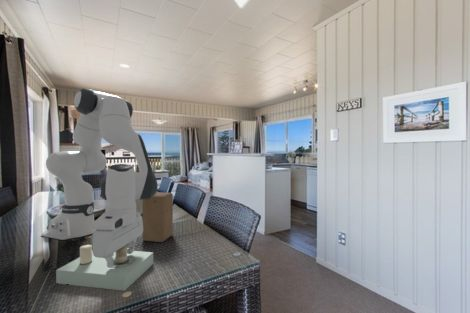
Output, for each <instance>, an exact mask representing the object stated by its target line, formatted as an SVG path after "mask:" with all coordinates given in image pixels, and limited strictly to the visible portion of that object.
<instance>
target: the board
mask: <svg viewBox="0 0 470 313" xmlns="http://www.w3.org/2000/svg"><path fill="white" fill-rule="evenodd" d="M112 257H113V260H116V252H114V256H112ZM153 265H154V252H153V251H152V252H151V251H140V250H139V251H138V250H134V252H133V253H131V254H127V263H126V264H123V265H115V266H114V267H112V268H108V267H107V261H106V260H105V258H97V257H95V256H94V255H93V246H92V244H85V245H81V246H80V247H79V257H77V258H75V259H74V260H72V261H70V262H67V263H66V264H65V265H63V266H61V267H59V268H57V269H56V270H55V273H56V276H55V279H56V282H55V283H56V284H57V283H58V285H66V284H69V285H68V286H77V287H88V288H96V289H105V290H114V291H115V290H116V291H126V290H127V289H128V288H130V287H131V285H132V284H134V283H135V282H136V281H137V280H138V279H140V277H141V276H142V275H144V273H145V272H147V270H149V268H151V267H152V266H153Z"/></svg>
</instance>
